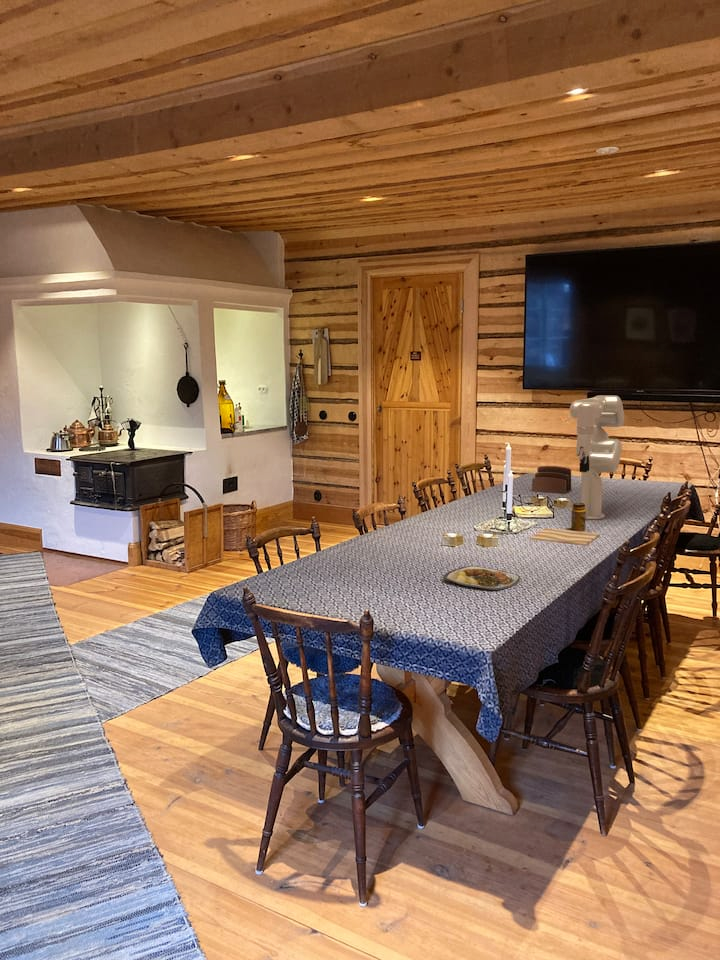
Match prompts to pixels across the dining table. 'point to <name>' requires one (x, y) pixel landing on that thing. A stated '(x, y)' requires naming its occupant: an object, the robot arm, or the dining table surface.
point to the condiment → (578, 518)
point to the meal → (481, 577)
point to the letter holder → (552, 480)
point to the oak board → (565, 536)
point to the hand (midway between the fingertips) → (584, 471)
